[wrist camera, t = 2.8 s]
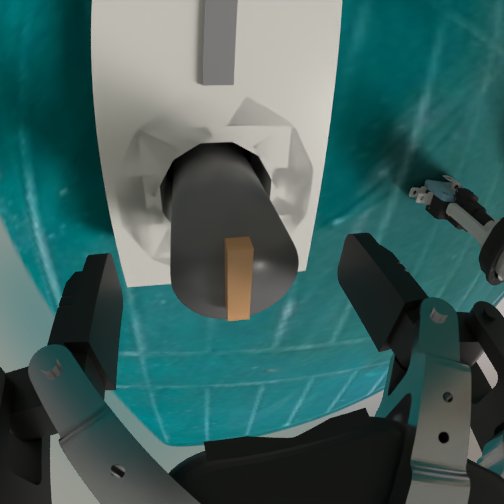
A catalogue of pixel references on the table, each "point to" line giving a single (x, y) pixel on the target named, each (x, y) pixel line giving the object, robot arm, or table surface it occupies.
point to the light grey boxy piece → (210, 107)
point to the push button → (467, 221)
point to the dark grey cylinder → (226, 236)
